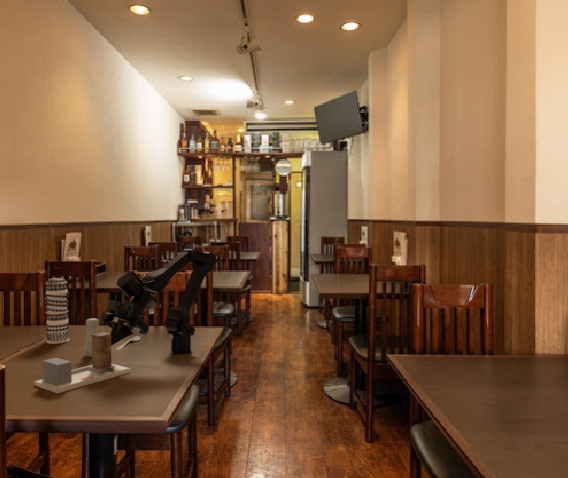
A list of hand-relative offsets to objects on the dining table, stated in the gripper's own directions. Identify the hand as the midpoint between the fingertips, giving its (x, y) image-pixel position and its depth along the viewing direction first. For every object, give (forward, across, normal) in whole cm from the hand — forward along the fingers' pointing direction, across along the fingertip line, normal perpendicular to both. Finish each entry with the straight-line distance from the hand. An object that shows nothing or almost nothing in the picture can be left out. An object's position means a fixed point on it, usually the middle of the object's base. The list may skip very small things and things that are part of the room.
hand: (108, 345), depth 158 cm
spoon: (-12, -26, +24) cm, 37 cm away
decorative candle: (-4, -54, +15) cm, 56 cm away
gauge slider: (+7, +1, +3) cm, 8 cm away
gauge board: (+12, 0, 0) cm, 12 cm away
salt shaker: (0, -22, +12) cm, 25 cm away
